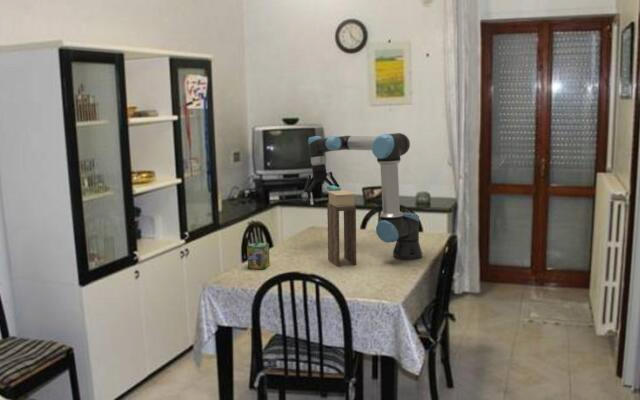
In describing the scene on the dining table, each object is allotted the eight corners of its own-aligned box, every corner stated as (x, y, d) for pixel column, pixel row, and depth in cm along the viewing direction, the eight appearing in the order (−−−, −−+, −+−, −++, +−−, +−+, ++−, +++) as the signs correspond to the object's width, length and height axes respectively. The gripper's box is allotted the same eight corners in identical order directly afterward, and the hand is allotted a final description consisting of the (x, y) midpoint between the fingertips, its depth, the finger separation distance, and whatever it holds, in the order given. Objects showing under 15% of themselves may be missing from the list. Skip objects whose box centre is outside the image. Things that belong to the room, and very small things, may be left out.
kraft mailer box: (354, 205, 312) (354, 195, 311) (336, 206, 310) (336, 196, 309) (345, 201, 324) (345, 192, 324) (328, 202, 322) (328, 193, 321)
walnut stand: (356, 265, 316) (355, 206, 311) (337, 266, 313) (336, 207, 308) (346, 257, 330) (345, 201, 325) (328, 259, 327) (327, 202, 323)
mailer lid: (355, 195, 311) (355, 191, 311) (336, 196, 308) (336, 192, 308) (339, 188, 334) (339, 185, 334) (321, 189, 331) (321, 186, 331)
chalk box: (265, 269, 311) (264, 240, 308) (247, 269, 312) (246, 239, 310) (270, 264, 320) (269, 236, 317) (253, 264, 321) (251, 235, 319)
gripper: (336, 162, 354) (342, 200, 355) (294, 167, 346) (300, 206, 346) (341, 161, 347) (347, 199, 348) (299, 166, 339) (304, 205, 339)
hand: (323, 203), depth 347 cm, fingers open, 13 cm apart
